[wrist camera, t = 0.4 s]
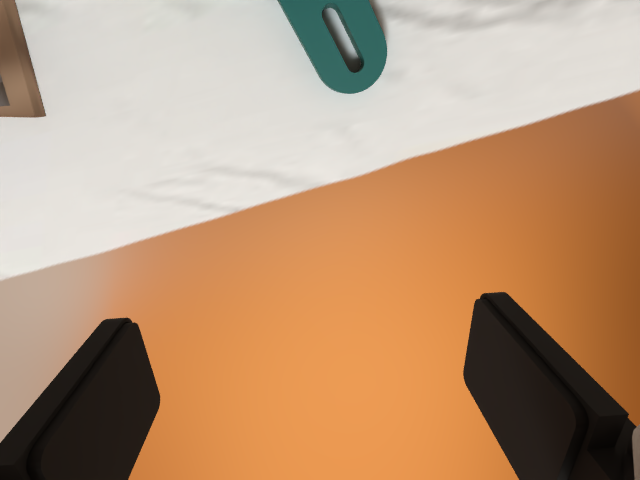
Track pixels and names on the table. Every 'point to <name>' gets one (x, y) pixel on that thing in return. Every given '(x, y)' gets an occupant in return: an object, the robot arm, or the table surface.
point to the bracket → (363, 30)
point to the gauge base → (16, 68)
